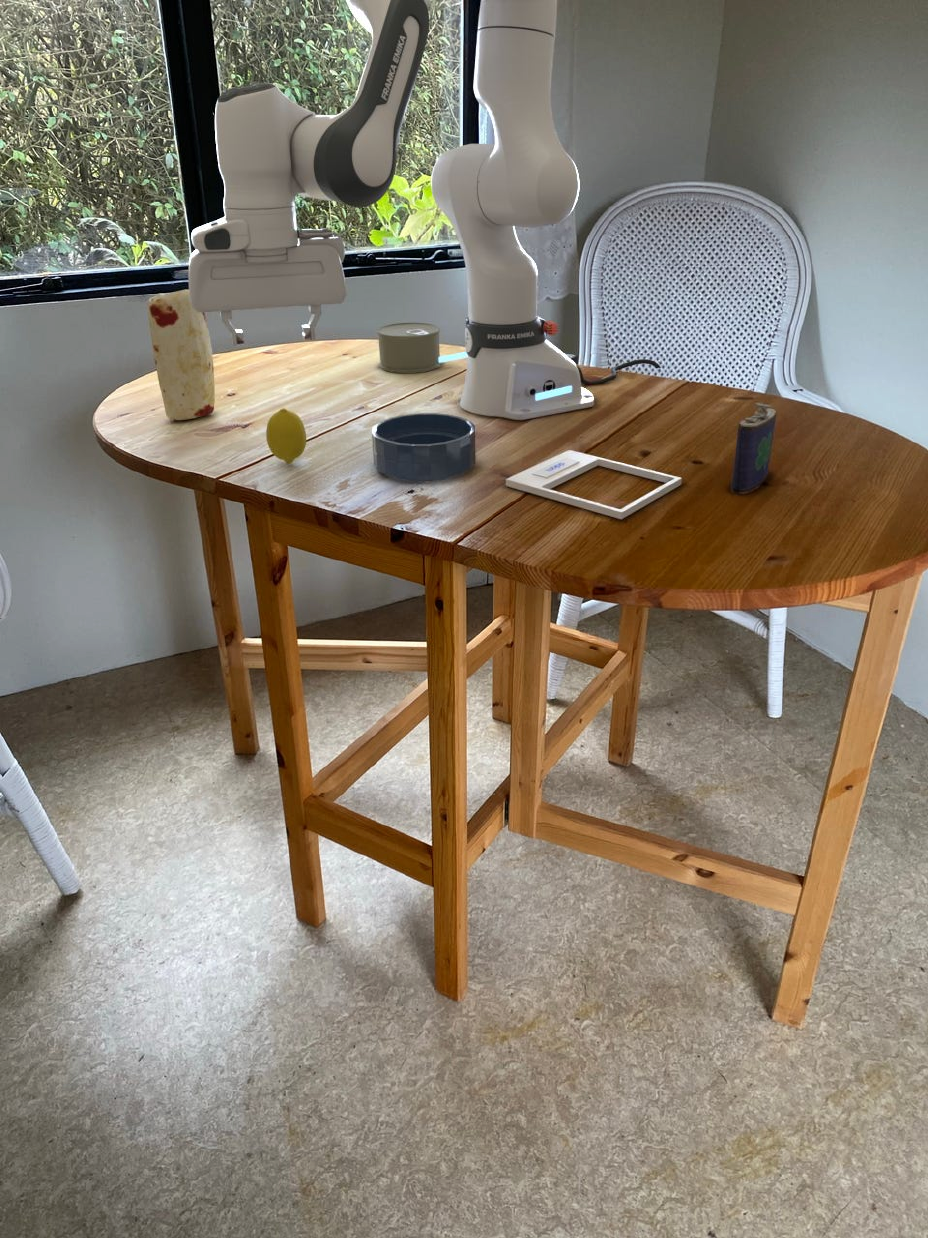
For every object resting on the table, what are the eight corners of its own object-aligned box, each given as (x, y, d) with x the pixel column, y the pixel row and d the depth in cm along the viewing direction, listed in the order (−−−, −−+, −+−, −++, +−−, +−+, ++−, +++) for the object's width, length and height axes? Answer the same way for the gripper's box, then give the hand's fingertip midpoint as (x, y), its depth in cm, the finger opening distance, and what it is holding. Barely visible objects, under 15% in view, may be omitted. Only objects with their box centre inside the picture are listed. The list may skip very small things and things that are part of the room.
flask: (752, 470, 126) (764, 392, 120) (773, 474, 124) (786, 396, 119) (726, 491, 119) (737, 410, 114) (748, 496, 118) (760, 414, 113)
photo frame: (569, 448, 131) (681, 476, 121) (569, 455, 132) (681, 484, 121) (505, 477, 122) (621, 510, 111) (505, 485, 122) (621, 519, 112)
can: (416, 354, 186) (414, 319, 182) (453, 365, 178) (452, 329, 174) (367, 365, 179) (364, 328, 176) (403, 376, 171) (401, 339, 168)
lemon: (301, 471, 129) (294, 415, 125) (264, 468, 130) (256, 413, 126) (314, 457, 134) (308, 403, 130) (278, 455, 135) (271, 401, 131)
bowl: (458, 444, 137) (457, 408, 135) (489, 477, 125) (488, 438, 123) (365, 456, 134) (362, 419, 131) (387, 490, 122) (385, 450, 119)
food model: (178, 427, 147) (155, 297, 137) (156, 419, 151) (132, 292, 141) (229, 413, 153) (211, 287, 143) (206, 406, 157) (187, 283, 147)
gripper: (338, 224, 122) (345, 331, 129) (179, 231, 117) (195, 342, 123) (347, 230, 117) (354, 341, 123) (181, 237, 111) (198, 353, 118)
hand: (274, 342), depth 123 cm, fingers open, 8 cm apart
